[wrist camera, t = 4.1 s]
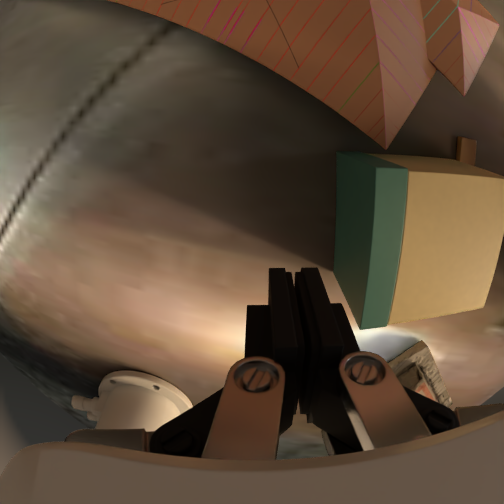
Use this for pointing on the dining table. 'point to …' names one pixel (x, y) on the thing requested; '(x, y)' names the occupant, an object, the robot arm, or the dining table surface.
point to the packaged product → (421, 373)
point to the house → (348, 47)
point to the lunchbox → (414, 236)
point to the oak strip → (466, 150)
